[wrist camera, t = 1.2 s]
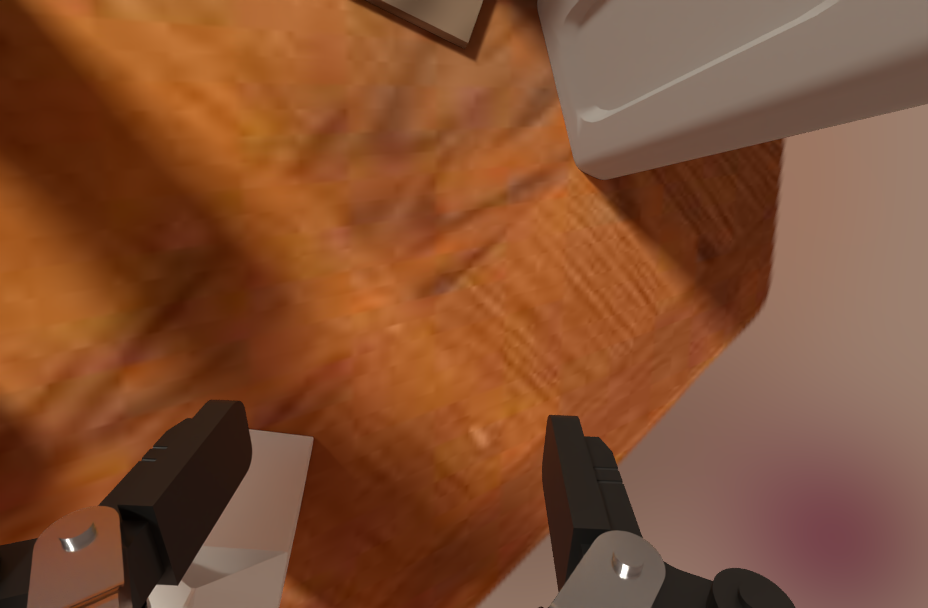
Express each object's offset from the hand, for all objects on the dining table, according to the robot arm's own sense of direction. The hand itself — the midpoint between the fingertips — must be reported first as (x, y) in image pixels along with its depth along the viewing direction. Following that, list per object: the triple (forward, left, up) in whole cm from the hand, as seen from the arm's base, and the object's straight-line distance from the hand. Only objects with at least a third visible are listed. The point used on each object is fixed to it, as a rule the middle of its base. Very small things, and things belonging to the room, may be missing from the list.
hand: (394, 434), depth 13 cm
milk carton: (-4, -15, -27) cm, 31 cm away
